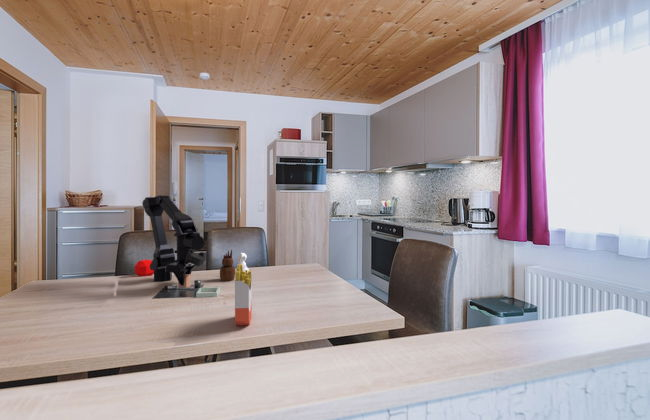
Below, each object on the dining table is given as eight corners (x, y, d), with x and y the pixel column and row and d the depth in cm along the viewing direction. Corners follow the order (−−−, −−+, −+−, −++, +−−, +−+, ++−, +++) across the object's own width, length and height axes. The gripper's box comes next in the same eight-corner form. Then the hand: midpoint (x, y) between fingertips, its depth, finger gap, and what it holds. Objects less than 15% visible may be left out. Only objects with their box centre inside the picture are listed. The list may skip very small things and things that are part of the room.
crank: (165, 289, 140) (165, 280, 140) (170, 286, 144) (170, 278, 144) (198, 290, 139) (198, 281, 139) (202, 288, 142) (202, 279, 142)
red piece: (158, 275, 167) (157, 260, 166) (142, 279, 160) (141, 263, 159) (148, 273, 171) (148, 258, 170) (132, 276, 164) (132, 260, 164)
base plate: (151, 301, 129) (151, 298, 129) (165, 288, 146) (165, 285, 146) (195, 299, 131) (195, 296, 131) (204, 286, 148) (204, 284, 148)
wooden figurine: (237, 280, 159) (237, 248, 158) (232, 284, 153) (232, 250, 152) (223, 280, 160) (222, 248, 159) (218, 283, 154) (217, 250, 153)
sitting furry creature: (231, 275, 169) (230, 251, 168) (248, 273, 172) (248, 250, 171) (231, 279, 160) (231, 254, 159) (250, 278, 163) (250, 253, 162)
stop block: (178, 287, 143) (178, 276, 143) (182, 285, 146) (182, 274, 146) (186, 288, 143) (186, 276, 142) (190, 285, 146) (190, 274, 146)
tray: (196, 299, 131) (196, 293, 131) (200, 293, 138) (200, 287, 138) (217, 298, 132) (216, 292, 132) (219, 293, 140) (219, 287, 140)
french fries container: (253, 315, 115) (252, 262, 114) (250, 328, 105) (249, 270, 104) (239, 315, 115) (238, 263, 114) (234, 329, 104) (234, 270, 103)
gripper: (191, 252, 133) (191, 291, 134) (212, 244, 152) (212, 279, 153) (164, 251, 135) (165, 290, 135) (188, 243, 153) (188, 278, 154)
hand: (184, 284), depth 144 cm, fingers closed on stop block, 3 cm apart
